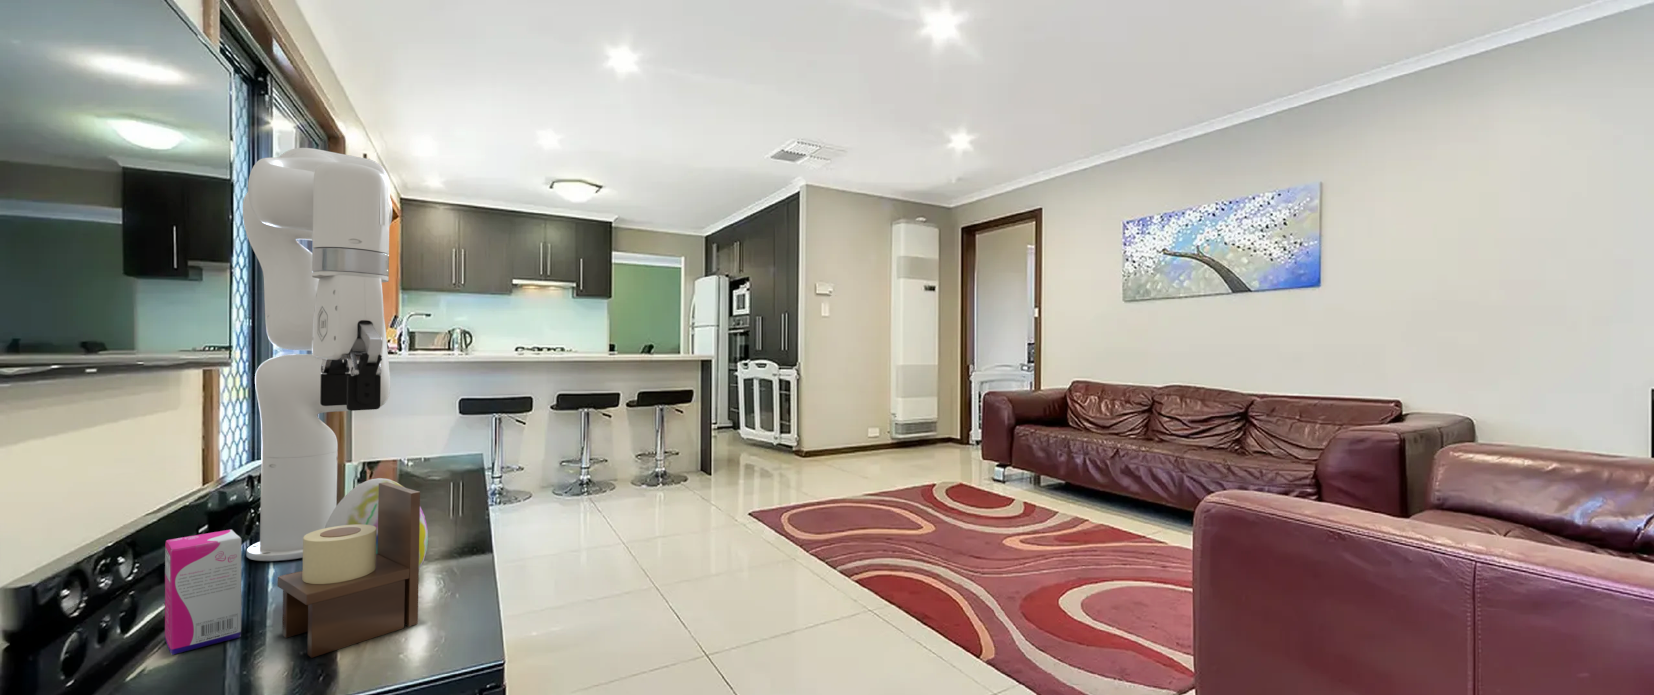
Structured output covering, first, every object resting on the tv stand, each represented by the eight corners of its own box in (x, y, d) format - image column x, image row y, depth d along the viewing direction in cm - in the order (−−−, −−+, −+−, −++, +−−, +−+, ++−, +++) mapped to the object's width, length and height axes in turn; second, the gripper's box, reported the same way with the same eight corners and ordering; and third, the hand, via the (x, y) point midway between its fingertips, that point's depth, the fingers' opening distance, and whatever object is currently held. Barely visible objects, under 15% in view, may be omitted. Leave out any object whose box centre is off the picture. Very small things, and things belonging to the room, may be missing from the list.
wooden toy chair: (276, 637, 73) (278, 498, 73) (385, 605, 82) (387, 482, 82) (305, 660, 68) (308, 510, 68) (417, 623, 77) (420, 492, 77)
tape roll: (293, 575, 73) (293, 533, 73) (361, 559, 79) (362, 520, 79) (315, 589, 69) (316, 544, 69) (386, 571, 75) (386, 530, 75)
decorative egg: (361, 610, 80) (363, 492, 80) (296, 596, 84) (298, 483, 84) (447, 577, 92) (449, 474, 92) (386, 566, 96) (388, 467, 96)
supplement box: (232, 622, 76) (234, 527, 76) (241, 637, 73) (243, 537, 73) (163, 639, 72) (164, 538, 72) (169, 656, 68) (170, 549, 68)
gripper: (292, 269, 80) (290, 405, 80) (337, 257, 70) (335, 414, 69) (363, 275, 86) (361, 402, 86) (414, 265, 76) (412, 409, 75)
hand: (349, 407), depth 78 cm, fingers open, 9 cm apart
